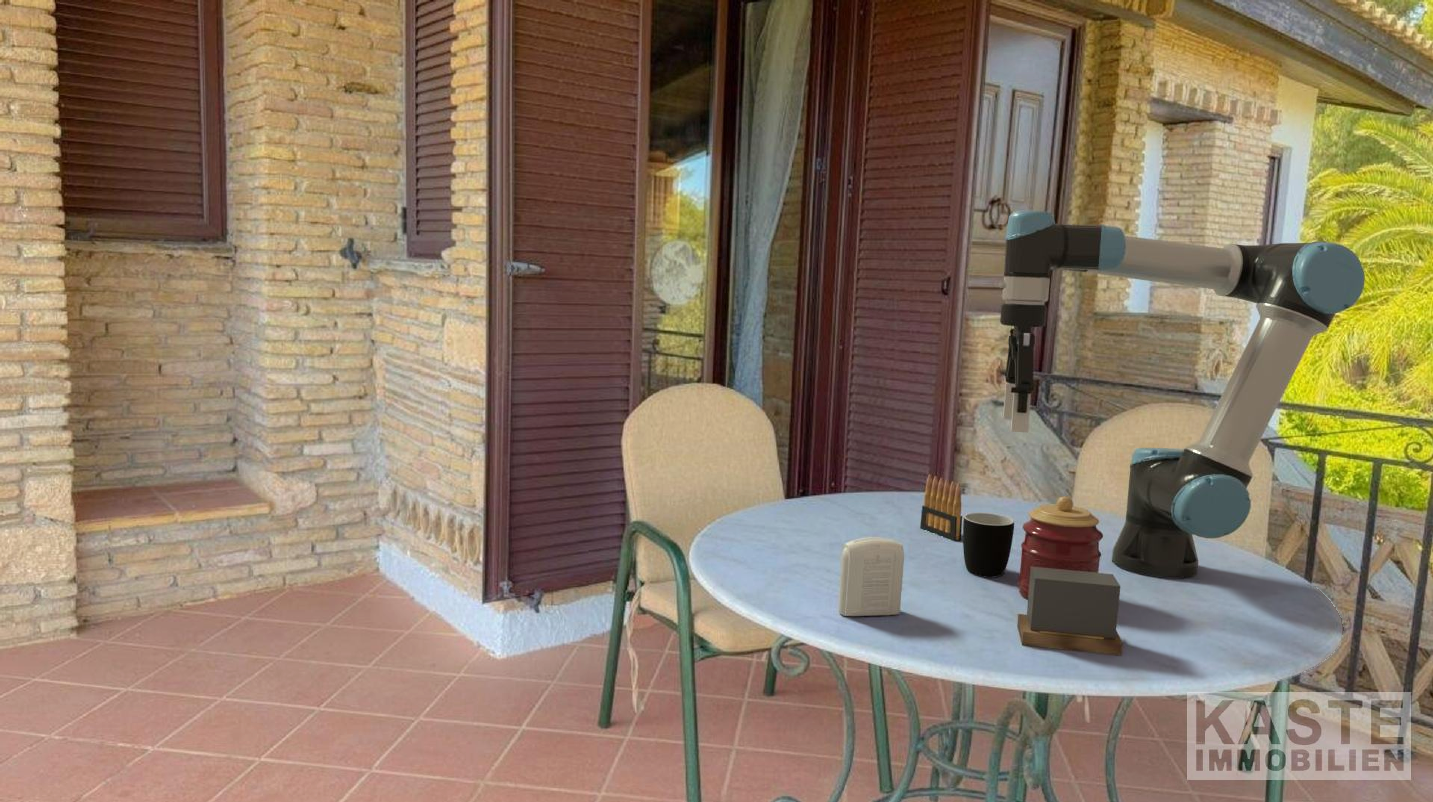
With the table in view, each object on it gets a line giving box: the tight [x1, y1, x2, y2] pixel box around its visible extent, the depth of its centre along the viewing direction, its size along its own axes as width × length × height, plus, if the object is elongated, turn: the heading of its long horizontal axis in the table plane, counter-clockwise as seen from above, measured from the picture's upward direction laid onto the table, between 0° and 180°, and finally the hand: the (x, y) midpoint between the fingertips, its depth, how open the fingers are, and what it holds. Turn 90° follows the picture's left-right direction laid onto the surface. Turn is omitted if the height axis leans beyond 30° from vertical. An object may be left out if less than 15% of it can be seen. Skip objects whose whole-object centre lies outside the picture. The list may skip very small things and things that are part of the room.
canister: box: [1017, 496, 1104, 600], centre depth 170 cm, size 13×13×18 cm
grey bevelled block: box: [1026, 567, 1121, 639], centre depth 150 cm, size 12×6×8 cm, turn 78°
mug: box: [962, 512, 1015, 578], centre depth 185 cm, size 12×9×10 cm
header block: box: [1017, 613, 1124, 656], centre depth 151 cm, size 14×8×6 cm, turn 78°
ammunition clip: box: [919, 473, 963, 542], centre depth 208 cm, size 11×2×12 cm, turn 29°
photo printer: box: [837, 536, 905, 617], centre depth 159 cm, size 10×4×12 cm, turn 103°
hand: (1015, 425), depth 173 cm, fingers open, 13 cm apart
